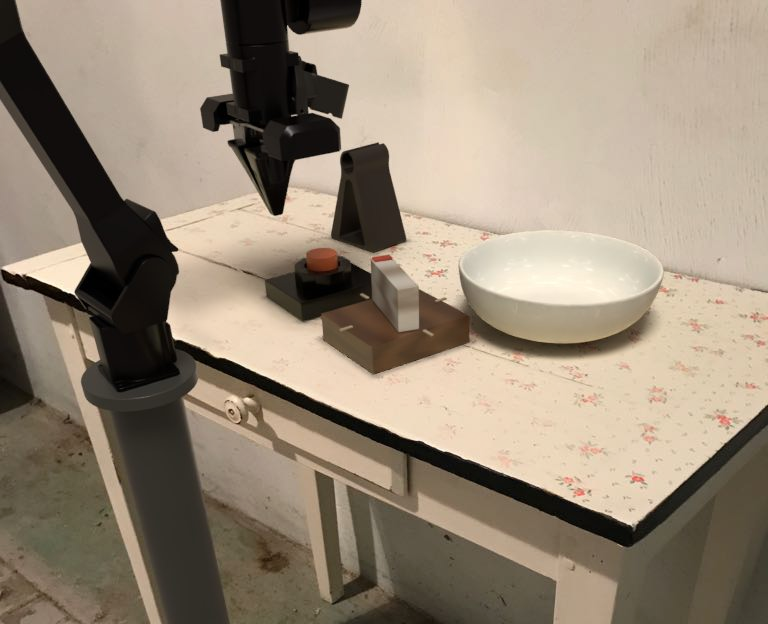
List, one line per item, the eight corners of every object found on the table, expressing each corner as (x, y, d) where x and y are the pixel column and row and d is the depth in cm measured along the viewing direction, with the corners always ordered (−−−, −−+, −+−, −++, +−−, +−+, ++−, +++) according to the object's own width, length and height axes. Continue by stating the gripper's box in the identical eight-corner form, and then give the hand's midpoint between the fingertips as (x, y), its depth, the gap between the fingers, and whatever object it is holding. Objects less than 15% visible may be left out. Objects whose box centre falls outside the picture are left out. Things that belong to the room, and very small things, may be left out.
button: (316, 276, 93) (315, 260, 92) (301, 267, 96) (300, 252, 94) (343, 268, 95) (342, 253, 94) (328, 260, 97) (327, 245, 96)
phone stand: (406, 241, 112) (405, 148, 105) (374, 253, 109) (370, 157, 102) (363, 227, 117) (358, 137, 110) (330, 238, 114) (324, 146, 107)
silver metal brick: (419, 329, 82) (418, 283, 79) (398, 332, 81) (397, 286, 79) (391, 296, 89) (390, 253, 86) (372, 299, 88) (370, 256, 86)
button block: (302, 321, 92) (299, 287, 89) (266, 297, 98) (262, 264, 96) (384, 298, 96) (383, 264, 94) (345, 275, 103) (343, 244, 100)
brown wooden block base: (377, 382, 80) (375, 352, 78) (311, 336, 89) (308, 308, 87) (483, 346, 85) (484, 317, 83) (411, 306, 94) (410, 279, 92)
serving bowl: (500, 382, 79) (504, 314, 75) (432, 301, 95) (432, 242, 91) (692, 350, 83) (706, 284, 79) (596, 278, 99) (603, 220, 95)
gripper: (386, 41, 72) (392, 220, 81) (287, 23, 85) (301, 181, 94) (273, 56, 67) (293, 245, 77) (186, 35, 80) (212, 199, 89)
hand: (276, 214), depth 84 cm, fingers closed
